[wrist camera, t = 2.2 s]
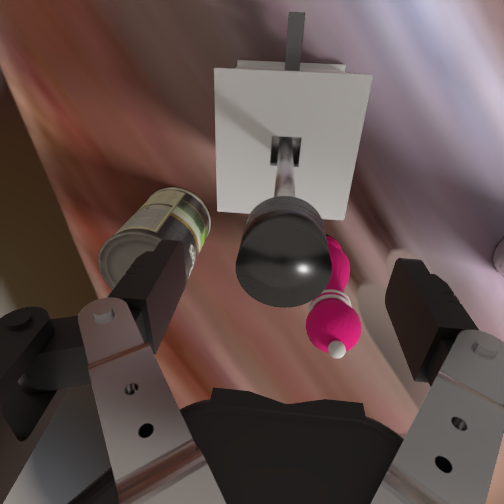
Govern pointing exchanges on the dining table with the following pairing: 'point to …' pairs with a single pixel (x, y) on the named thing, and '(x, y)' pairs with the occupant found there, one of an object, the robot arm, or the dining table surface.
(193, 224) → the coffee can
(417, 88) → the dining table surface
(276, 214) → the grey thin rod
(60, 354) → the robot arm
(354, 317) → the pepper mill
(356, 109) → the white cabinet
